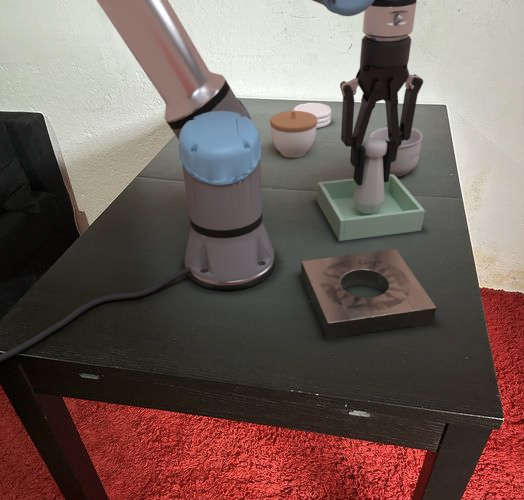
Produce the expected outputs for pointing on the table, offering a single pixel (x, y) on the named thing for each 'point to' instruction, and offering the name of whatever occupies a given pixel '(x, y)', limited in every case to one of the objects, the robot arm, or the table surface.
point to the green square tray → (365, 224)
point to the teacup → (403, 151)
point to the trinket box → (293, 132)
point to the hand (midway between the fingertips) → (370, 180)
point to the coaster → (317, 112)
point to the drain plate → (360, 308)
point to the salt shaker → (371, 177)
